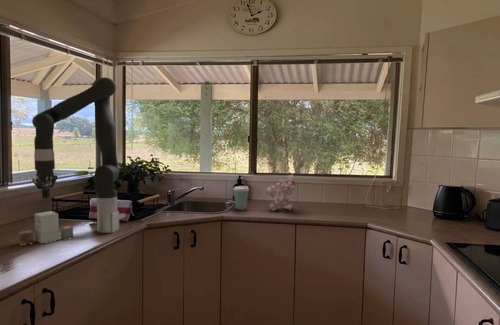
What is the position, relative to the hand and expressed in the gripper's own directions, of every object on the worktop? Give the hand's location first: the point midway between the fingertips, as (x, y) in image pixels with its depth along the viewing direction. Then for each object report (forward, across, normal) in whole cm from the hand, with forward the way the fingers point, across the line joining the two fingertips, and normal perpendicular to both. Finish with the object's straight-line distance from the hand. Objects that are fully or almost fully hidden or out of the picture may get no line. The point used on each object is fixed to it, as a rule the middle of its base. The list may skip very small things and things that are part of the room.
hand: (46, 198), depth 148 cm
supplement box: (+20, 0, 0) cm, 20 cm away
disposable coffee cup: (+21, +84, -74) cm, 114 cm away
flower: (+21, +87, -100) cm, 135 cm away
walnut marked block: (+20, -5, +6) cm, 21 cm away
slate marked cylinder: (+20, +5, -6) cm, 21 cm away
